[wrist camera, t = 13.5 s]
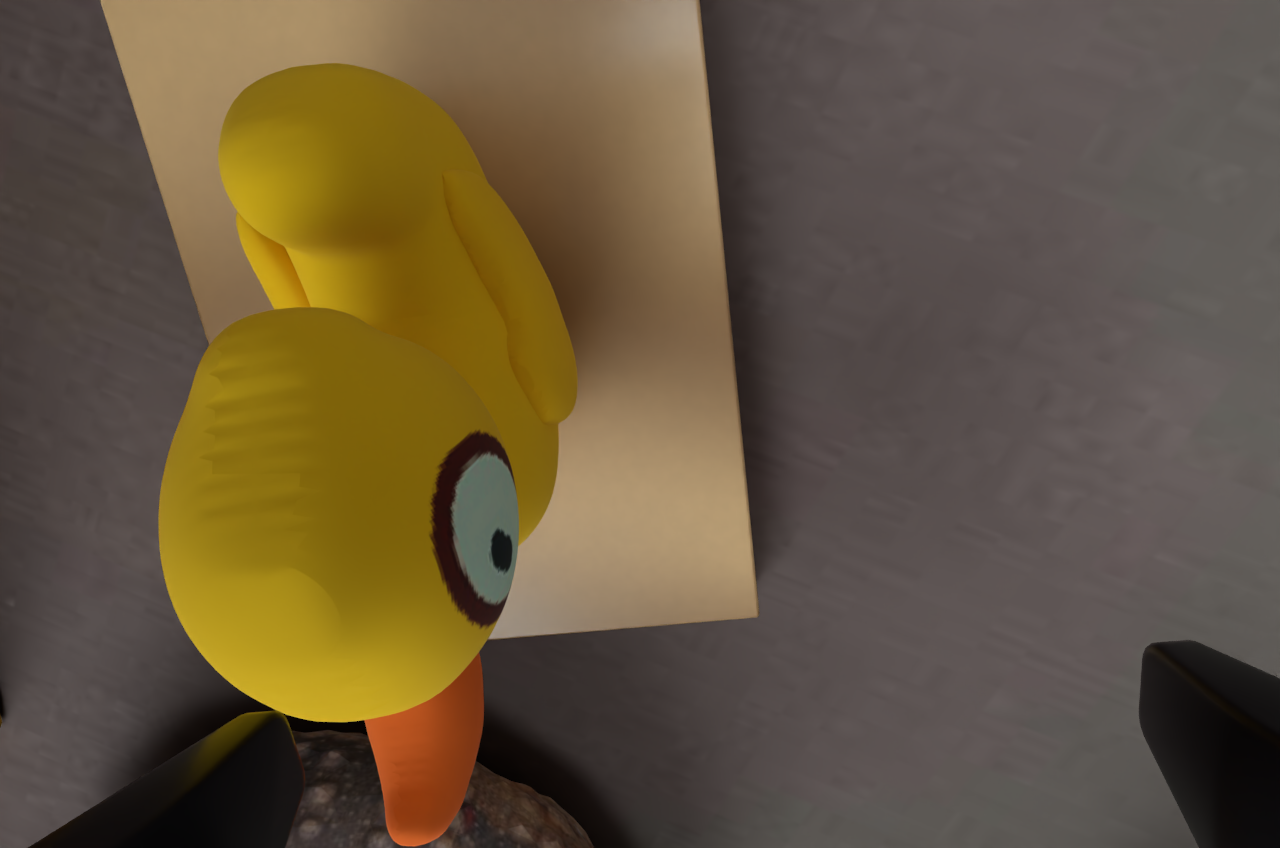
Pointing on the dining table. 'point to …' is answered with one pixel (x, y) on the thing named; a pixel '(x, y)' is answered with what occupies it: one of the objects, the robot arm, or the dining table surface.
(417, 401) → the duckling
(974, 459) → the dining table surface
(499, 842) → the sea urchin shell
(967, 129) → the dining table surface
